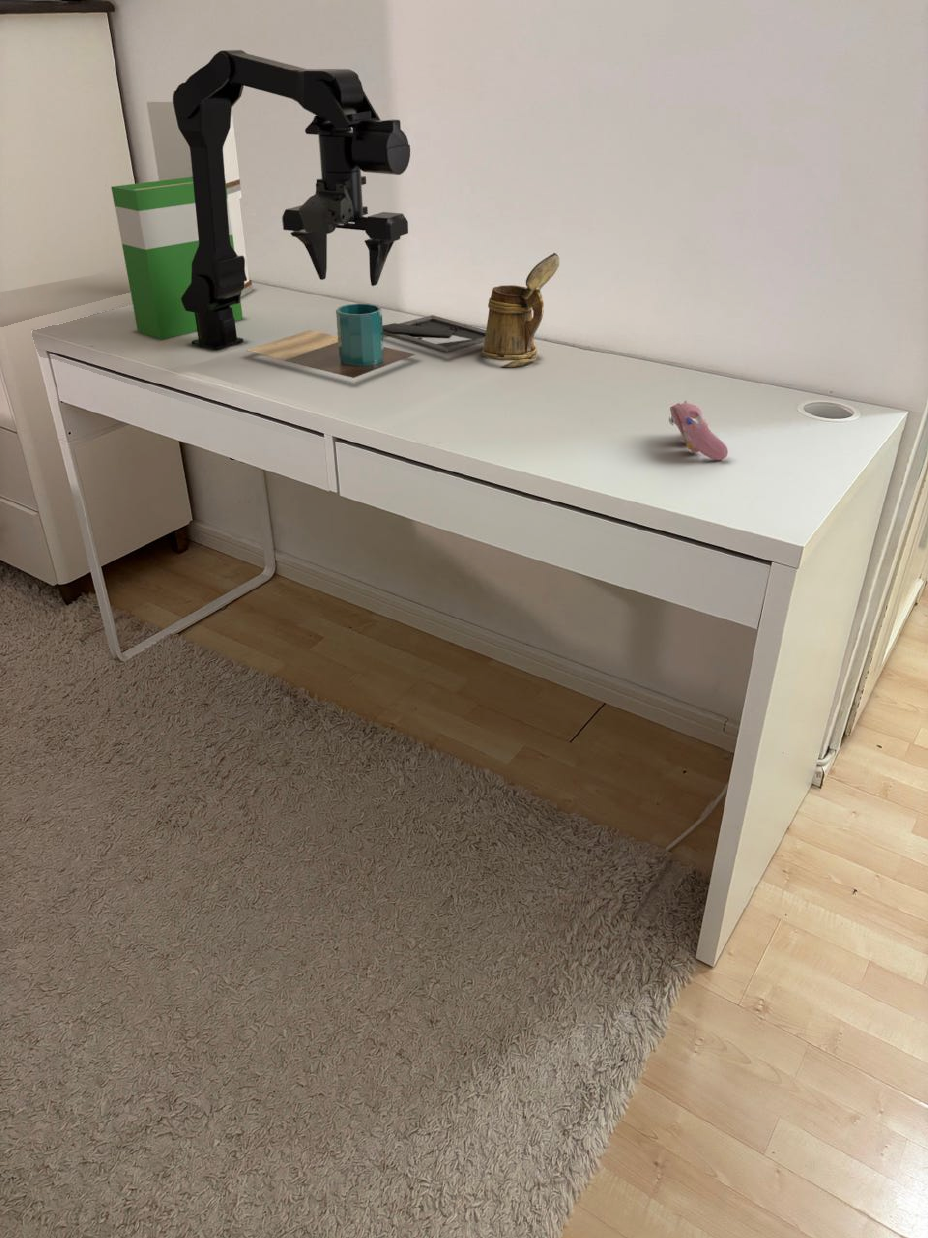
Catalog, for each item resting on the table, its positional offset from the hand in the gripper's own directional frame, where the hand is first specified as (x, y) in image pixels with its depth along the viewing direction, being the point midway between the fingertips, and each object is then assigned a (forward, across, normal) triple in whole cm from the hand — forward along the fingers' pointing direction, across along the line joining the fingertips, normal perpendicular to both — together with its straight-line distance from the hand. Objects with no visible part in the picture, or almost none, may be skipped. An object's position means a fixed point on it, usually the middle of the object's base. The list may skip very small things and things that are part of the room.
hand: (348, 282), depth 145 cm
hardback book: (+14, -41, +9) cm, 44 cm away
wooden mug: (+14, +22, +15) cm, 30 cm away
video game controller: (+14, +58, -9) cm, 60 cm away
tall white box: (+14, -51, +30) cm, 61 cm away
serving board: (+14, -6, +3) cm, 15 cm away
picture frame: (+14, +5, +20) cm, 25 cm away
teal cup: (+12, +1, +2) cm, 12 cm away
